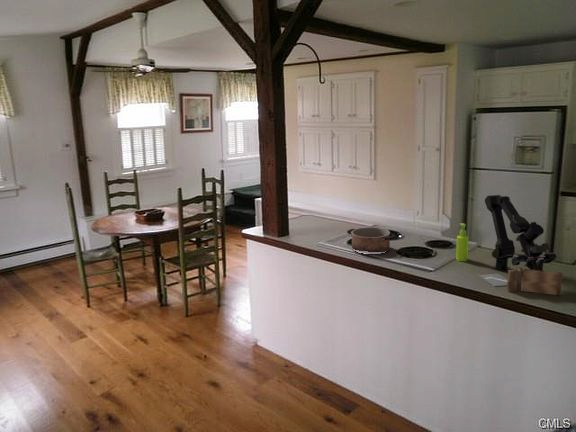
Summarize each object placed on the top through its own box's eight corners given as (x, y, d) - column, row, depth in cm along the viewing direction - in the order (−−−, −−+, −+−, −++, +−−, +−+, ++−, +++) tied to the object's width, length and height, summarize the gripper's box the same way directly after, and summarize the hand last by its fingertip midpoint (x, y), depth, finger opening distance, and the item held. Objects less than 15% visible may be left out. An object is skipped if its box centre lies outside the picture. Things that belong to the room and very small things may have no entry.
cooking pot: (401, 248, 273) (402, 231, 270) (385, 258, 256) (385, 240, 253) (357, 241, 291) (357, 224, 288) (339, 250, 274) (339, 233, 271)
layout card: (478, 275, 225) (478, 275, 225) (497, 274, 226) (497, 273, 226) (494, 286, 212) (494, 285, 211) (514, 285, 213) (514, 284, 212)
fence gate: (522, 290, 205) (523, 269, 203) (521, 289, 206) (523, 268, 204) (560, 295, 199) (562, 273, 196) (560, 294, 200) (562, 272, 198)
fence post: (508, 292, 205) (510, 270, 202) (506, 290, 207) (507, 268, 204) (521, 291, 206) (523, 269, 203) (519, 289, 207) (521, 267, 205)
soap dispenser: (463, 256, 253) (465, 222, 248) (469, 261, 246) (471, 225, 241) (453, 257, 253) (455, 222, 248) (458, 261, 246) (460, 226, 241)
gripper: (517, 238, 202) (530, 270, 194) (556, 235, 204) (571, 267, 196) (505, 249, 212) (517, 280, 204) (543, 247, 213) (556, 277, 205)
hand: (540, 276), depth 202 cm, fingers closed
